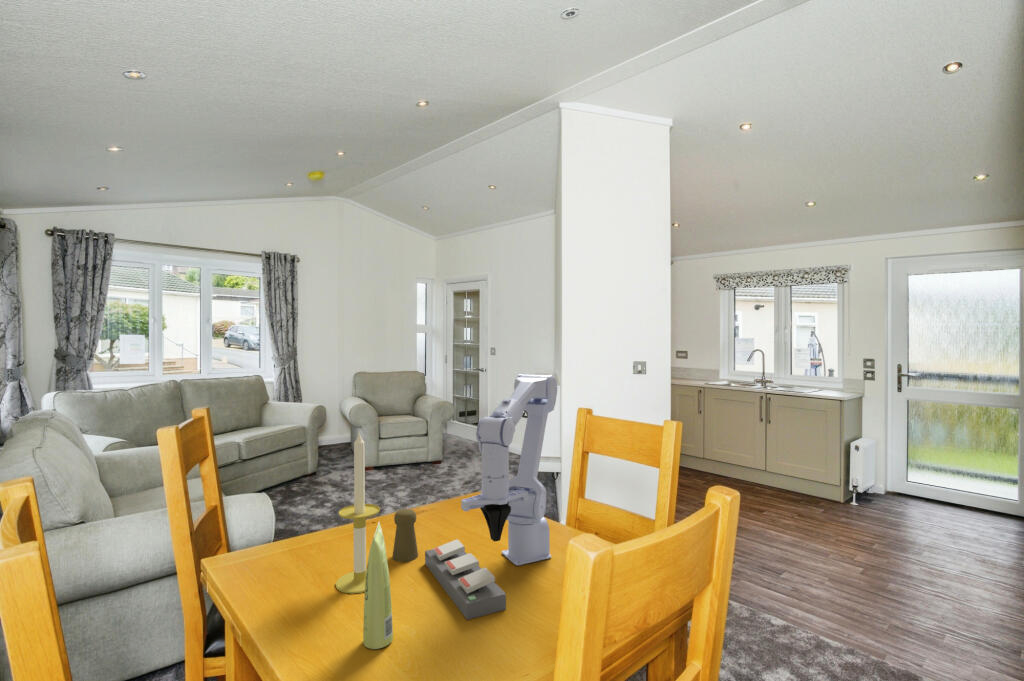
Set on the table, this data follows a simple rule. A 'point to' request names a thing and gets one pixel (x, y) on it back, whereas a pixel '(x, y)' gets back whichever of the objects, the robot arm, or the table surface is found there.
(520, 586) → the table surface
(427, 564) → the strip
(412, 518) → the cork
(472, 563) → the rocker
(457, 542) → the rocker
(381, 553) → the tube
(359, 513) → the candle
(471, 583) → the rocker
